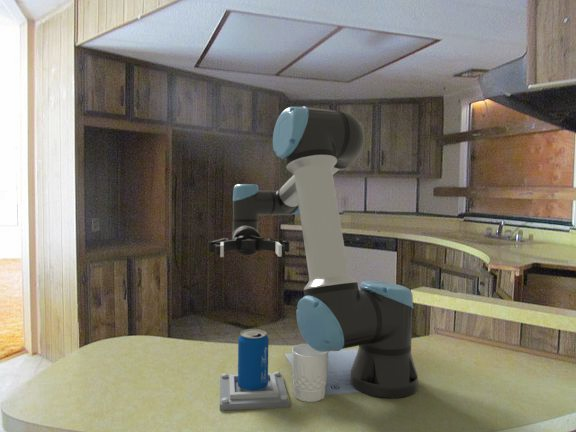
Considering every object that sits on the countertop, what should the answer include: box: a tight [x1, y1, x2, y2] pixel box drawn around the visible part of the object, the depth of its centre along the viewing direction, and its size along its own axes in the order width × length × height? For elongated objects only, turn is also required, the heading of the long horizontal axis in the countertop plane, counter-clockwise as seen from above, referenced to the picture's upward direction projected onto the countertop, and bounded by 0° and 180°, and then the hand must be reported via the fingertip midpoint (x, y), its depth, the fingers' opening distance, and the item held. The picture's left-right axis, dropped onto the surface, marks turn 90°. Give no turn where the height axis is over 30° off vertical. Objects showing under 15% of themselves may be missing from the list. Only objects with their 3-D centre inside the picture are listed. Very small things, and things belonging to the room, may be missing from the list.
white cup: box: [291, 342, 330, 403], centre depth 101 cm, size 8×8×10 cm
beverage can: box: [237, 328, 270, 392], centre depth 101 cm, size 6×6×12 cm
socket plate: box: [219, 371, 290, 411], centre depth 102 cm, size 14×14×2 cm
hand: (251, 251), depth 110 cm, fingers open, 13 cm apart
